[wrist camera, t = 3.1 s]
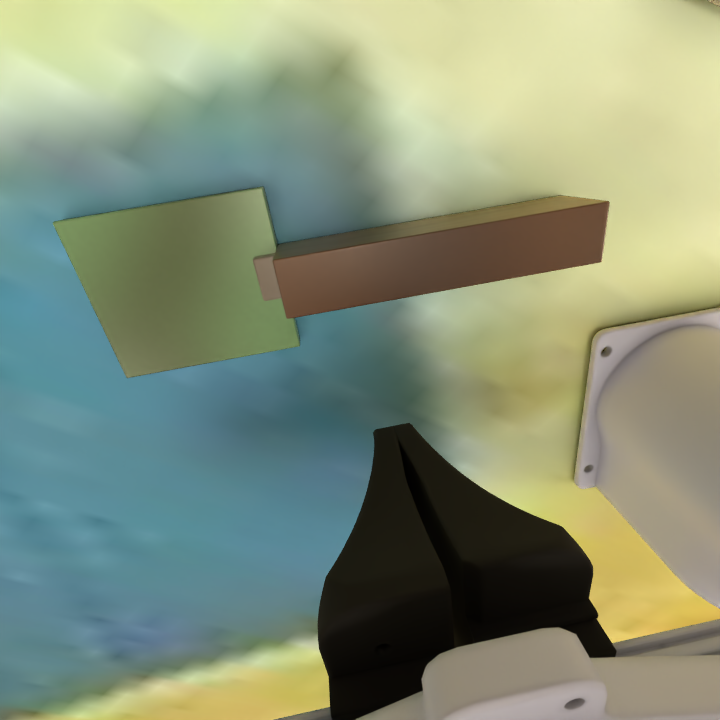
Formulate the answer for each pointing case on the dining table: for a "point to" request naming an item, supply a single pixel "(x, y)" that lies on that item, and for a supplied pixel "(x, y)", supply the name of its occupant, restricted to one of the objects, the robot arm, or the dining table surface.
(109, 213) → the spatula
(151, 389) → the dining table surface
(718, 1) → the cup
